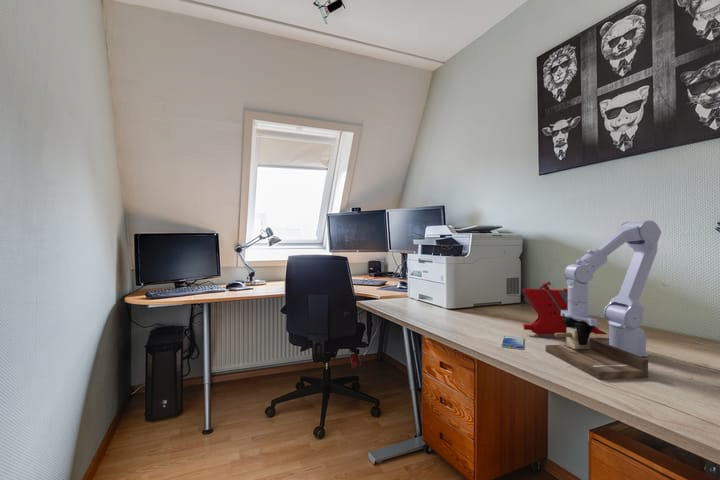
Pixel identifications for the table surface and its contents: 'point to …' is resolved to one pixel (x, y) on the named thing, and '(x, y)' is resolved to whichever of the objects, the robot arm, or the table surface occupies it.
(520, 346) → the smartphone
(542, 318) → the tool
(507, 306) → the table surface
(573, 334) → the beige block with rod
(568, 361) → the board
